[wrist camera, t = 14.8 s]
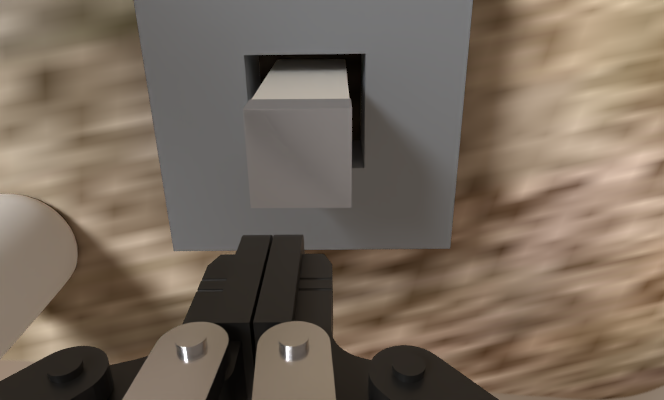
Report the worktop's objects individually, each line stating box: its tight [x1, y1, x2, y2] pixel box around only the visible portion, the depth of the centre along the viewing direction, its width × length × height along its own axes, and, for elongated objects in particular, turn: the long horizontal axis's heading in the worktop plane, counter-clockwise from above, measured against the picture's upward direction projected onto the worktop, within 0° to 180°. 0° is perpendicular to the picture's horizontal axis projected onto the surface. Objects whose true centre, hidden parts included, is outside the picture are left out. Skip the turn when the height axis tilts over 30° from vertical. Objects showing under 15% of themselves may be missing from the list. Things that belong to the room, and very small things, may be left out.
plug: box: [243, 59, 352, 208], centre depth 26 cm, size 4×4×12 cm
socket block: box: [134, 0, 473, 251], centre depth 29 cm, size 16×16×5 cm
